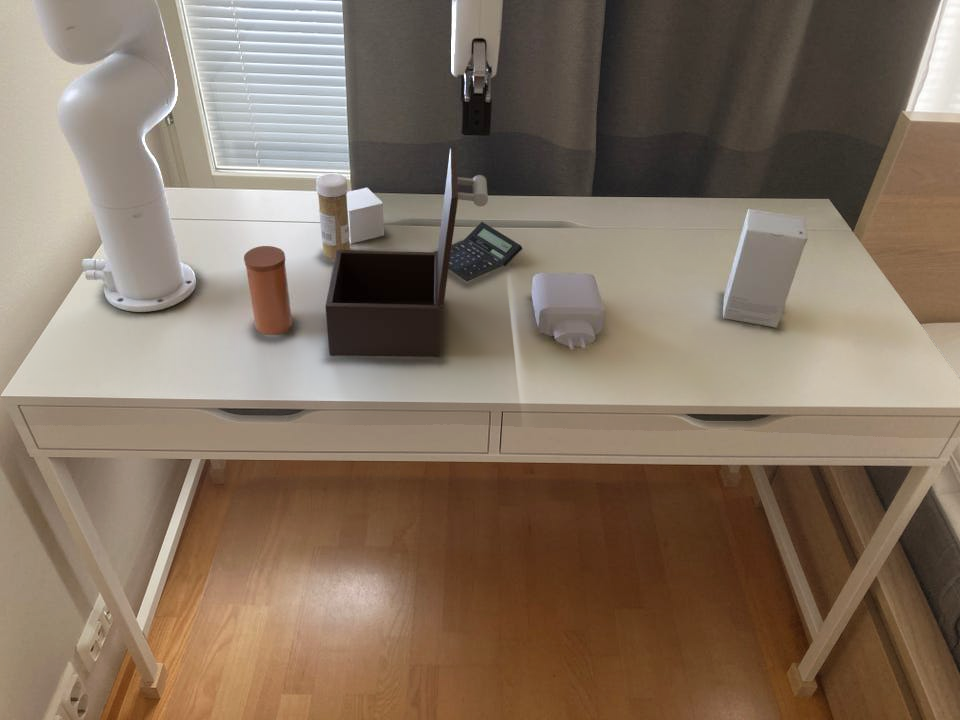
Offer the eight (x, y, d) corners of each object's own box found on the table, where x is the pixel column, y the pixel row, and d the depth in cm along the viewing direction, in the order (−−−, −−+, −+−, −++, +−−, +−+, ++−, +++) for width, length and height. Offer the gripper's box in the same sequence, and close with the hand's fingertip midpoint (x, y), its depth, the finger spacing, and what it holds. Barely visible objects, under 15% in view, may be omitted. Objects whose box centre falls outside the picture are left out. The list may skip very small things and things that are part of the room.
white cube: (335, 227, 133) (333, 194, 130) (368, 219, 136) (367, 187, 132) (350, 243, 130) (348, 210, 126) (384, 235, 132) (383, 202, 128)
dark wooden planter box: (329, 359, 107) (325, 306, 101) (339, 300, 117) (336, 249, 112) (439, 361, 108) (440, 308, 102) (439, 303, 118) (440, 252, 112)
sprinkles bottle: (356, 259, 126) (352, 181, 118) (329, 266, 124) (323, 188, 115) (343, 246, 129) (338, 169, 120) (317, 253, 127) (310, 175, 118)
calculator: (428, 258, 127) (428, 242, 125) (482, 236, 134) (483, 220, 132) (466, 285, 122) (467, 268, 120) (521, 260, 128) (522, 244, 126)
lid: (451, 197, 92) (492, 201, 93) (450, 147, 102) (487, 151, 103) (437, 305, 102) (474, 308, 102) (437, 249, 112) (471, 252, 113)
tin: (252, 339, 109) (240, 266, 102) (259, 316, 113) (247, 245, 106) (290, 340, 109) (281, 267, 102) (295, 317, 113) (287, 246, 106)
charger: (542, 362, 109) (530, 298, 120) (608, 362, 109) (591, 299, 121) (545, 334, 106) (533, 272, 117) (614, 335, 106) (595, 273, 118)
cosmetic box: (777, 306, 122) (808, 216, 112) (777, 331, 117) (810, 239, 107) (721, 295, 123) (748, 205, 114) (719, 319, 119) (747, 227, 109)
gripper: (444, -63, 89) (442, 89, 100) (443, -23, 75) (442, 148, 86) (511, -61, 89) (502, 90, 100) (522, -20, 76) (511, 149, 87)
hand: (474, 117), depth 93 cm, fingers open, 9 cm apart
